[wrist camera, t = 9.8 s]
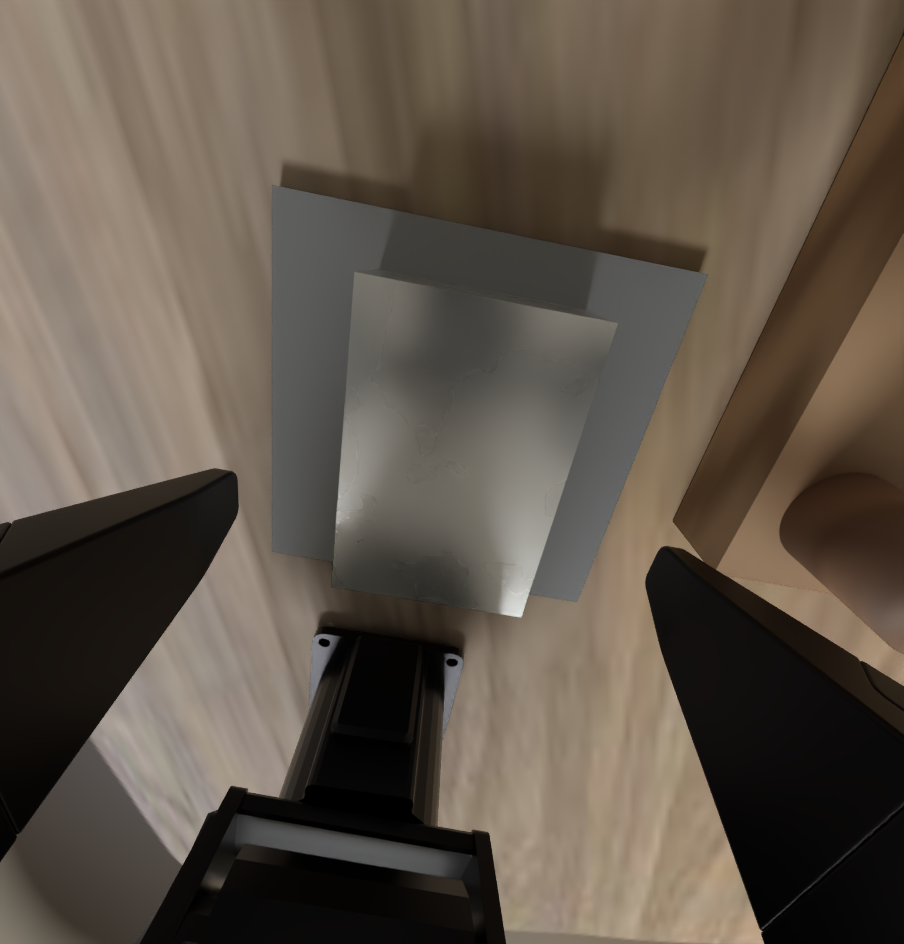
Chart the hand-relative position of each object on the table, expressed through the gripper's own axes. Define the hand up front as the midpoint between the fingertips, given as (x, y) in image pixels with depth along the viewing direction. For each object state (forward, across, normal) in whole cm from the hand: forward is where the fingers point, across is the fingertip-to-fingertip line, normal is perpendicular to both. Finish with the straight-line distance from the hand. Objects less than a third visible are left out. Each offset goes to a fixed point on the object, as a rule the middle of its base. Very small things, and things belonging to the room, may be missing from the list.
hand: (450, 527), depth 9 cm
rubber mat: (+6, 0, 0) cm, 6 cm away
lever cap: (+6, 0, 0) cm, 6 cm away
